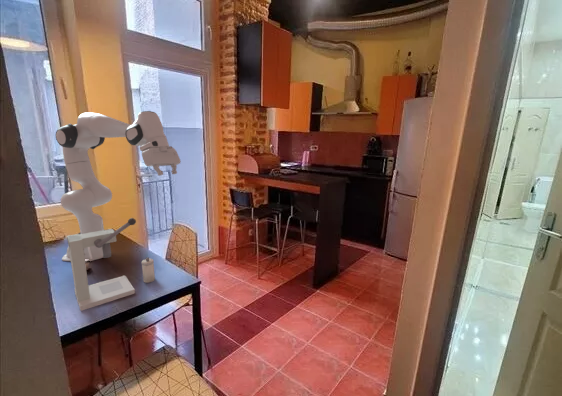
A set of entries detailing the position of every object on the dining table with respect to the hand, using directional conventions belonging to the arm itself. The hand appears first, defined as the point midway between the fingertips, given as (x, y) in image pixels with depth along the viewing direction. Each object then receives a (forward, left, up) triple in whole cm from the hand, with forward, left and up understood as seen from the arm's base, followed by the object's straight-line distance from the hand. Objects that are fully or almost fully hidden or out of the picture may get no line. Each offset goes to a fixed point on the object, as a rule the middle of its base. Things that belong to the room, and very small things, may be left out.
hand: (168, 174), depth 131 cm
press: (-24, -13, -51) cm, 58 cm away
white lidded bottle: (-11, -4, -51) cm, 52 cm away
